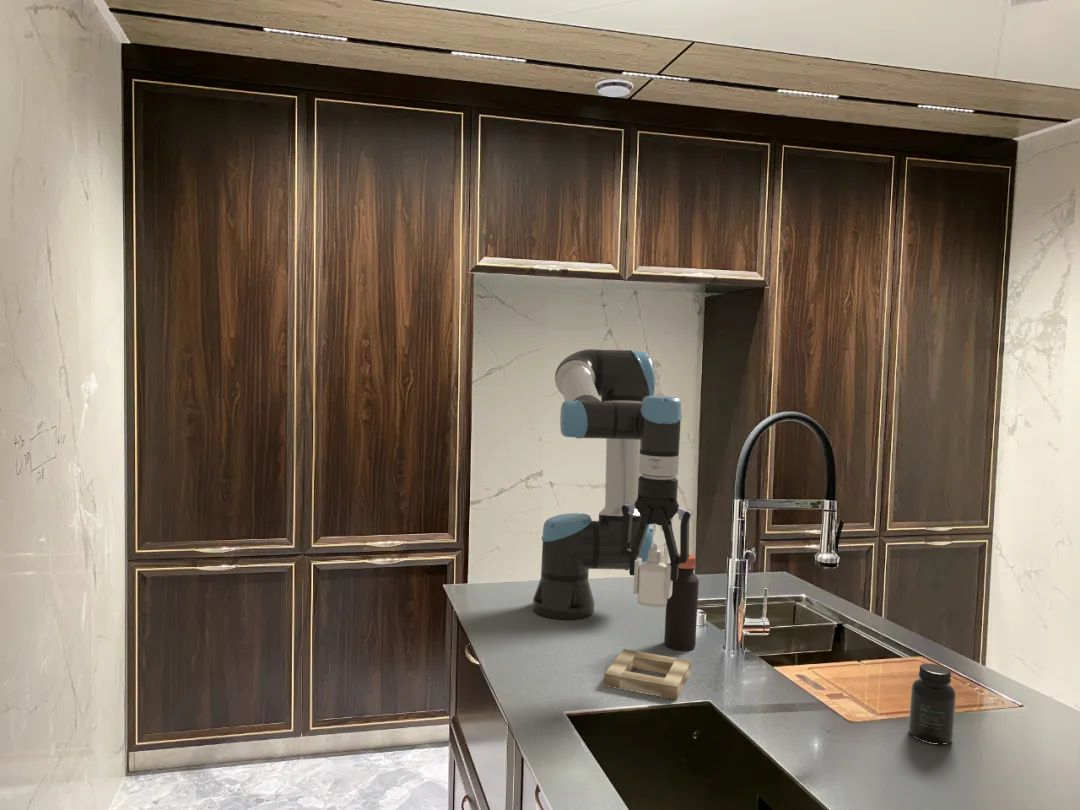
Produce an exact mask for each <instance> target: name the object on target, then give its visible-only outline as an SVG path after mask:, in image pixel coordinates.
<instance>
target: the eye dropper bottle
mask: <svg viewBox="0 0 1080 810" xmlns="http://www.w3.org/2000/svg"><path fill="white" fill-rule="evenodd" d="M661 558H662V551H661V550H660V549H659V548H658V543H656V542H655V543H654V542H652V549H650V550H649V551H648V561H647V562H644V563H642V564H641V565H640V568H639V583H638V594H637V603H638V605H640V606H645V607H650V608H651V607H652V608H664V607H665V608H666V604H667V598H665V592H666V571H667V564H665V563H663V562H661V560H662V559H661Z"/></svg>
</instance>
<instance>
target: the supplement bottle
mask: <svg viewBox="0 0 1080 810" xmlns="http://www.w3.org/2000/svg"><path fill="white" fill-rule="evenodd" d="M951 676H952V671H951V670H950V669H949V668H948V667H945V666H943V665H939V664H935V663H922V664H920V666H919V672H918V677H919V678H917V679H915V680H914V681H913V682H912V685H911V690H910V691H911V692H910V693H911V694H910V707H909V708H910V709H909V719H908V721H909V723H908V731H909V733H910V735H911V734H912V735H913V736H915V737H917V738H919V739H921V740H924V741H927V742H931V743H938V744H943V743H949V742H950V743H951V742H952V741H953V738H954V728H955V726H954V725H955V712H956V700H957V697H956V696H957V694H956V690H955V689H954V687H953V686H952V685H951V683H952V677H951ZM912 735H911V736H912ZM913 736H912V737H913ZM950 743H949V744H950Z"/></svg>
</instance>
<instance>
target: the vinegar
mask: <svg viewBox="0 0 1080 810" xmlns="http://www.w3.org/2000/svg"><path fill="white" fill-rule="evenodd" d="M678 555H679V556H680V552H678ZM696 558H697V557H696V556H695V555H693V554H690V553H689V559H688V560H687V561H686V562H685V563H680V564H679V570H678V578H677V580H676V581H673V584H672V596H671V597H670V598H669V599H667V604H666V606H665V617H664V618H665V619H664V622H665V623H664V639H663V641H664V643H663V644H664V645H665V646H666V647H667V648H669V649H671V650H674V651H684V652H686V651H691V650H694V648H696V642H697V641H696V640H697V622H698V620H697V619H698V605H699V604H698V603H699V601H698V600H699V583H700V581H699V578H698V577H697V576H696V574H695V573H694V570H696Z"/></svg>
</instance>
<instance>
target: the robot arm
mask: <svg viewBox="0 0 1080 810" xmlns="http://www.w3.org/2000/svg"><path fill="white" fill-rule="evenodd" d="M554 382H555V386H556V388H557V390H558V392H559V393H560V394H561V395H562V396H563V399H564V401H563V402H562V403H561V405H560V406H561V407H560V417H559V418H560V419H559V420H560V423H559V424H560V425H559V426H560V434H561V435H562V436H563V437H566V438H575V439H604V440H605V439H606V440H605V441H606V450H605V451H606V452H605V454H606V457H605V493H604V494H605V497H604V500H605V501H604V503H605V504H604V507H603V509H601V511H599V513H598V520H592V518H591V515H590V514H586V513H579V512H573V513H571V512H570V513H564V514H557V515H554V516H551V517H549V518H547V519H546V520H545V521H544V523H543V527H542V537H541V541H542V546H541V565H540V566H541V567H540V568H541V570H540V571H541V572H540V579H539V582H538V584H537V588H536V590H535V592H534V596H533V599H532V610H533V611H534V613H536V614H537V615H540V616H542V617H545V618H546V617H547V618H551V619H557V620H579V619H583V618H587V617H590V616H591V615H593V614H594V612H595V600H594V596H593V592H592V589H591V585H590V581H589V572H590V571H589V570H590V569H591V570H621V571H622V570H624V571H629V572H628V573H629V575H630V576H633V594H634V595H638V583H639V568H640V565H641V564H642V563H644V562H647V561H648V551H649V550H650V549H652V547H653V543H654V541H653V540H654V533H653V532H654V527H653V525H654V524H655V525H658V526H661V528H662V529H661V530H662V532H663V535H664V539H665V540H664V541H665V544H666V547H667V553H668V556H669V560H670V561H669V562H667V564H666V566H667V571H666V592H665V598H667V599H669V598H670V597H671V596H672V584H673V581H676V580H677V578H678V570H679V564H680V563H685V562H686V561H687V560H688V559H689V554H690V520H691V518H692V516H693V511H692V510H691V509H687V510H686V509H684V508H682V507H680V504H679V503H678V483H679V482H678V479H677V478H676V477H677V476H678V475H679V465H680V464H679V463H680V462H679V461H680V460H679V459H680V442H681V441H680V438H681V422H682V421H681V420H682V419H683V418H682V417H683V415H682V401H681V399H680V398H678V397H676V396H667V395H655V391H656V389H655V387H656V377H655V369H654V364H653V361H652V359H651V356H650V355H649V354H648V353H647V352H644V351H639V350H638V351H637V350H631V349H629V350H627V349H626V350H625V349H624V350H623V349H621V350H620V349H617V350H616V349H593V348H592V349H591V348H589V349H583V350H578V351H576V352H574V353H572V354H569V355H568V356H567V357H565V358H564V359H563V360H562V361H561V362H560V363H559V364H558V366H557V368H556V370H555V375H554ZM676 514H677V515H678V520H679V521H680V527H679V528H680V529H679V530H680V532H679V533H680V536H679V537H680V538H679V540H680V541H679V543H680V544H679V545H680V546H679V547H680V550H679V552H678V547H677V544H676V540H675V535H674V530H673V524H672V523H673V522H672V519H673V517H675V515H676ZM679 553H680V556H679V555H678V554H679Z"/></svg>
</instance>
